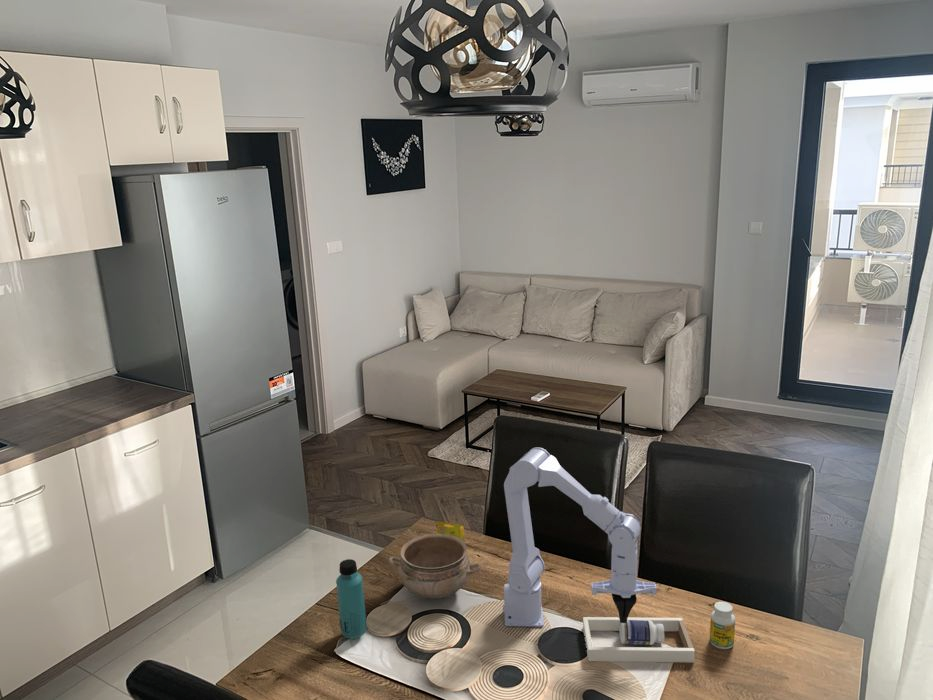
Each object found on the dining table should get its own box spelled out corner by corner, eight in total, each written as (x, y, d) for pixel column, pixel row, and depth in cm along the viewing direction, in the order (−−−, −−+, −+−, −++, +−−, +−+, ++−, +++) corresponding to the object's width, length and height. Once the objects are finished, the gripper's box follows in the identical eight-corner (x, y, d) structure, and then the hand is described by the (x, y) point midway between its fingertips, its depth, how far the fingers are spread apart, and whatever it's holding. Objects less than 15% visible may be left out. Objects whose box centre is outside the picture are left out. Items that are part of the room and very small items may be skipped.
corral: (588, 661, 160) (588, 649, 159) (583, 627, 171) (583, 617, 170) (694, 662, 158) (694, 650, 157) (681, 628, 170) (682, 617, 169)
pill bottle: (622, 645, 162) (665, 647, 161) (621, 620, 163) (664, 621, 162) (619, 642, 167) (661, 643, 166) (618, 618, 168) (660, 619, 167)
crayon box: (465, 556, 204) (464, 520, 202) (462, 562, 202) (460, 525, 199) (442, 552, 207) (440, 516, 204) (438, 557, 204) (436, 521, 202)
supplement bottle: (733, 637, 166) (735, 601, 164) (734, 652, 161) (737, 615, 159) (709, 633, 168) (711, 598, 165) (709, 648, 163) (711, 611, 160)
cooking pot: (488, 575, 195) (486, 535, 192) (475, 617, 177) (473, 573, 174) (401, 568, 200) (398, 529, 197) (380, 608, 182) (376, 565, 179)
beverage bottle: (372, 630, 173) (366, 557, 168) (359, 647, 167) (353, 571, 162) (348, 625, 175) (342, 553, 170) (335, 642, 169) (328, 567, 164)
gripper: (593, 577, 156) (593, 630, 160) (660, 578, 156) (658, 631, 159) (590, 560, 163) (589, 612, 167) (653, 560, 162) (652, 612, 166)
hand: (622, 620), depth 163 cm, fingers closed
